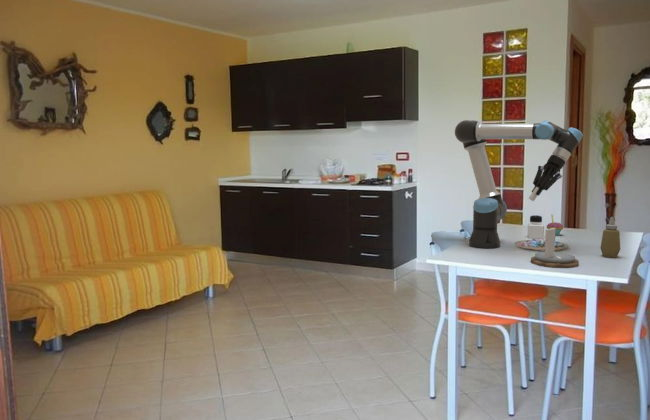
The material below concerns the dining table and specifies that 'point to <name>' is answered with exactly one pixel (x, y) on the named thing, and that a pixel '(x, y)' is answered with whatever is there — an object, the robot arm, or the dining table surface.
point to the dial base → (554, 265)
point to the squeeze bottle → (610, 240)
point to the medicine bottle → (535, 227)
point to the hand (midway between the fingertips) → (531, 199)
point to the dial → (553, 250)
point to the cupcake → (555, 225)
